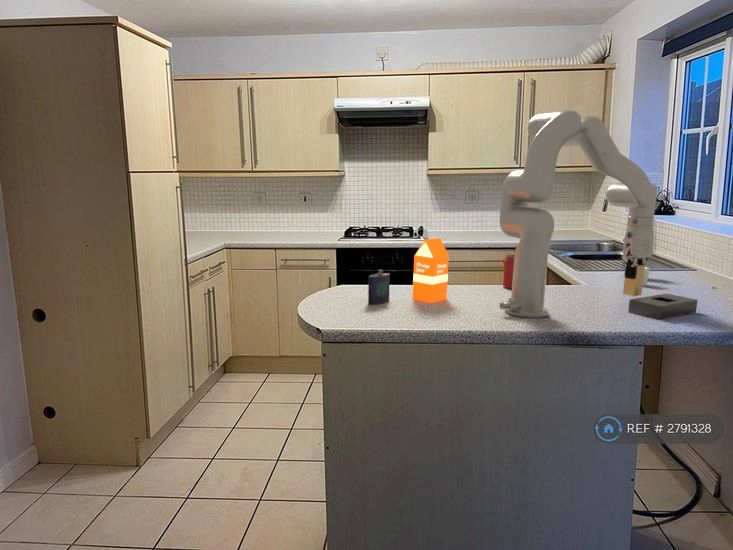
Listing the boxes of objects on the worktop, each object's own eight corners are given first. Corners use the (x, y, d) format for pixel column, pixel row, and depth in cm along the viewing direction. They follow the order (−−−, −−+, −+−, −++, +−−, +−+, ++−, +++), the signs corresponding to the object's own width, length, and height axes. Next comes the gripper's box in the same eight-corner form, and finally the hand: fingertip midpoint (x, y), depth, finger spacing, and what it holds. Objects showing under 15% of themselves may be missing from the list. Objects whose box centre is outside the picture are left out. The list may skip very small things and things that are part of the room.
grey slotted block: (659, 319, 162) (660, 306, 162) (628, 311, 171) (629, 299, 170) (695, 312, 173) (697, 299, 172) (664, 305, 181) (666, 293, 180)
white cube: (651, 286, 213) (653, 268, 212) (633, 286, 213) (635, 268, 212) (642, 283, 220) (644, 265, 218) (625, 282, 220) (627, 265, 218)
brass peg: (634, 296, 180) (637, 266, 178) (623, 293, 183) (626, 264, 181) (641, 295, 182) (644, 265, 180) (630, 292, 185) (633, 263, 183)
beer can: (507, 285, 208) (509, 253, 206) (523, 287, 204) (526, 255, 202) (499, 287, 203) (501, 255, 201) (516, 290, 199) (518, 257, 197)
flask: (385, 299, 179) (386, 267, 177) (391, 301, 177) (393, 268, 175) (365, 304, 172) (366, 270, 170) (372, 305, 170) (373, 271, 168)
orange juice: (412, 298, 181) (414, 238, 177) (428, 295, 187) (430, 236, 183) (431, 303, 175) (434, 241, 172) (447, 299, 182) (450, 239, 178)
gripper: (635, 224, 170) (629, 282, 174) (666, 222, 179) (659, 277, 182) (613, 222, 177) (608, 278, 180) (644, 220, 185) (638, 274, 189)
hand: (634, 277), depth 181 cm, fingers closed on brass peg, 4 cm apart
